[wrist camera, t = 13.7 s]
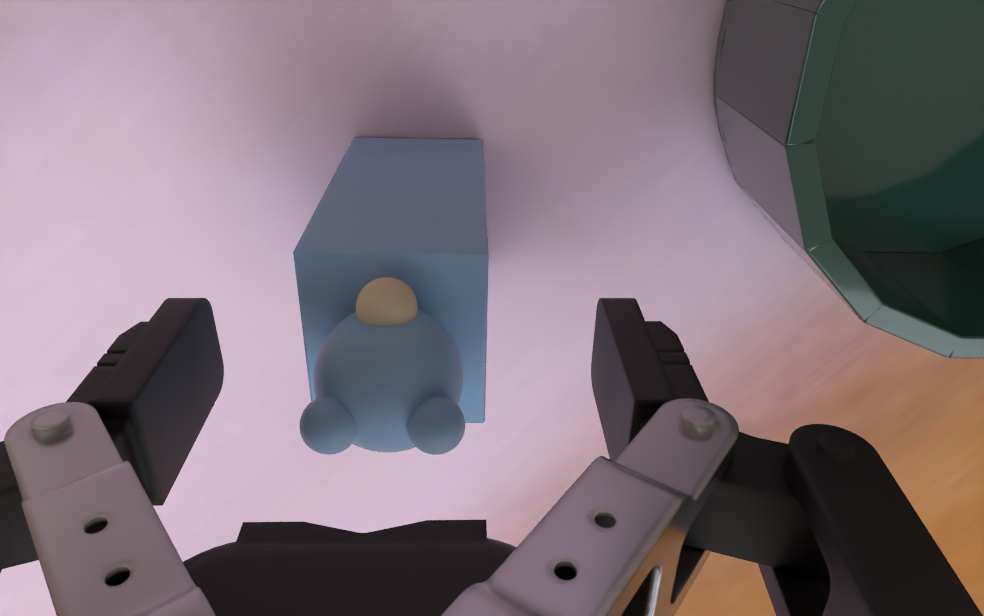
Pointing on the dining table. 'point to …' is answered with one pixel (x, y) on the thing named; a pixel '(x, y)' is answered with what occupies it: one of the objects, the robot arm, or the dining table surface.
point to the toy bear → (396, 297)
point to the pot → (867, 151)
